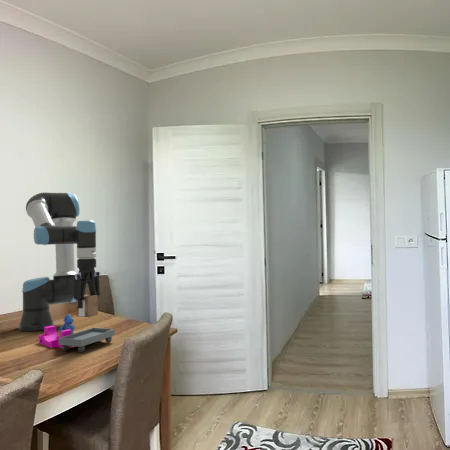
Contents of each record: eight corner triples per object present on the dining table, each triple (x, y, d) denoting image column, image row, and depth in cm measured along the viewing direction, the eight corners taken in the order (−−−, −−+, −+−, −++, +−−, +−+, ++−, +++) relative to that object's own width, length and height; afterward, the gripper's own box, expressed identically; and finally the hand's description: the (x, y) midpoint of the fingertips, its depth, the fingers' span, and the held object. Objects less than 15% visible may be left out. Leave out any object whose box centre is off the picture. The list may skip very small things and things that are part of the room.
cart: (58, 351, 180) (58, 338, 180) (93, 339, 200) (93, 327, 200) (81, 353, 176) (81, 340, 176) (114, 341, 196) (114, 329, 196)
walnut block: (76, 316, 186) (76, 296, 187) (86, 313, 192) (85, 294, 192) (88, 317, 184) (88, 297, 184) (97, 314, 190) (97, 295, 190)
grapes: (56, 341, 199) (55, 313, 199) (72, 339, 202) (72, 312, 202) (60, 347, 189) (60, 317, 189) (77, 344, 192) (77, 316, 192)
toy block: (38, 346, 192) (38, 328, 192) (52, 343, 197) (52, 325, 197) (57, 351, 182) (57, 332, 183) (71, 348, 187) (71, 329, 187)
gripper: (78, 259, 178) (79, 319, 178) (108, 257, 196) (109, 311, 195) (63, 259, 181) (63, 318, 181) (94, 257, 199) (94, 310, 198)
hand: (87, 314), depth 188 cm, fingers closed on walnut block, 6 cm apart
